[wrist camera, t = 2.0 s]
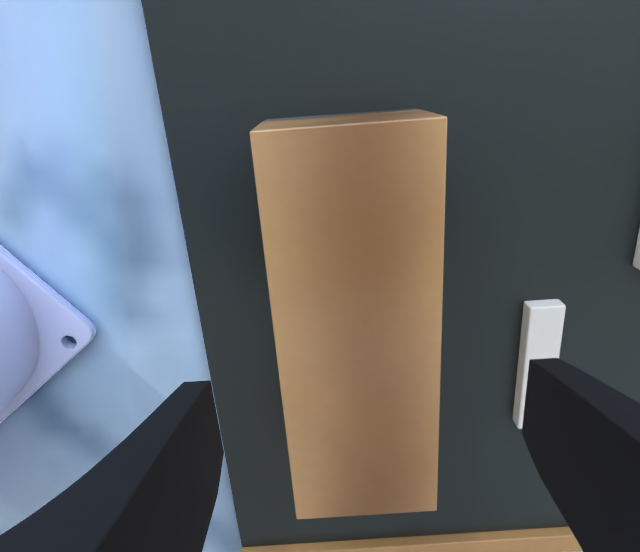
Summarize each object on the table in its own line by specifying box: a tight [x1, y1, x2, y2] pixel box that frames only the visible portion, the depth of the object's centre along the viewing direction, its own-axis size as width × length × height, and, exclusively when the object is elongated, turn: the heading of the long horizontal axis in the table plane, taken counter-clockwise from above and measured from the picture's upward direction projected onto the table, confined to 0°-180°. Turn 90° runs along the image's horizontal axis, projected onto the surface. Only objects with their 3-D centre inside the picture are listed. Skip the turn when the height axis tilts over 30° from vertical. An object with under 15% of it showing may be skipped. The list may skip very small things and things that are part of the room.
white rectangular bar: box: [513, 299, 566, 429], centre depth 17 cm, size 1×5×1 cm, turn 4°
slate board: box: [141, 0, 640, 552], centre depth 16 cm, size 20×25×1 cm
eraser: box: [250, 108, 447, 519], centre depth 15 cm, size 4×12×4 cm, turn 4°
